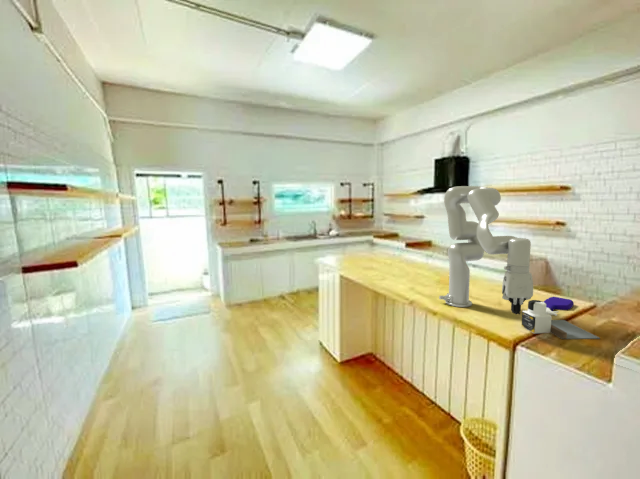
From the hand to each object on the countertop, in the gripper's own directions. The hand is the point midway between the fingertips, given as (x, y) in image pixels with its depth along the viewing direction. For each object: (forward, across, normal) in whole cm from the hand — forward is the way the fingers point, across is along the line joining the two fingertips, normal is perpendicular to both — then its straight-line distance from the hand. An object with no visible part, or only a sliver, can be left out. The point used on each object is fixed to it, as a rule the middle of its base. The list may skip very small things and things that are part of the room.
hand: (515, 313), depth 126 cm
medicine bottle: (+7, +8, 0) cm, 11 cm away
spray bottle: (+8, +34, +25) cm, 43 cm away
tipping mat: (+7, +19, 0) cm, 21 cm away
